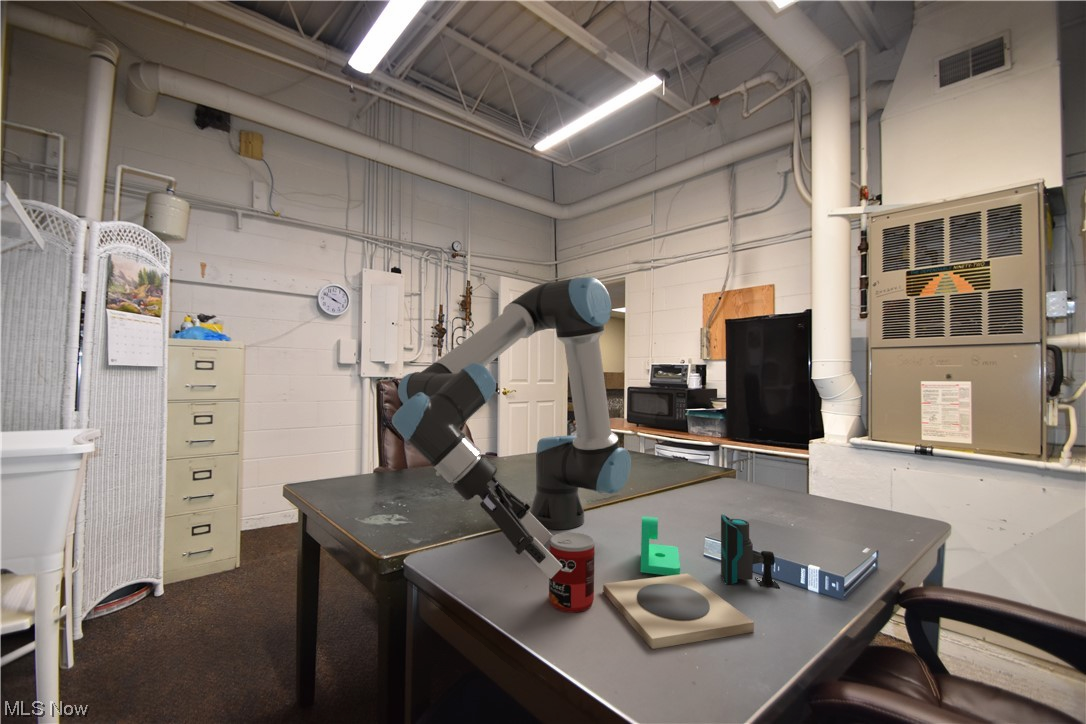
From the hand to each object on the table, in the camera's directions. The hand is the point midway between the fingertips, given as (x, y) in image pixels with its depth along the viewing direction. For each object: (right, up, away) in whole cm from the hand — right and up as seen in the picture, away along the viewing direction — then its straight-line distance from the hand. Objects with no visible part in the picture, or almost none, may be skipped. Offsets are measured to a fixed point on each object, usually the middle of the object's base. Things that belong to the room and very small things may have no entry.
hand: (551, 555), depth 79 cm
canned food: (+4, -9, +1) cm, 10 cm away
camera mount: (+23, -10, +16) cm, 30 cm away
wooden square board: (+21, -9, -1) cm, 23 cm away
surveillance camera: (+39, -10, +10) cm, 42 cm away
